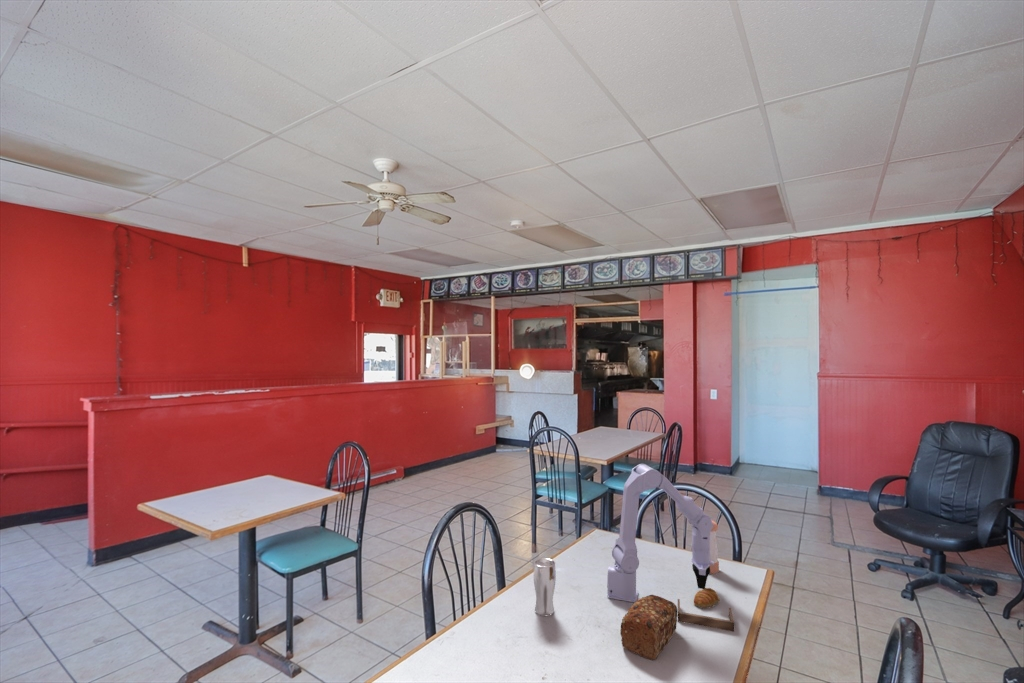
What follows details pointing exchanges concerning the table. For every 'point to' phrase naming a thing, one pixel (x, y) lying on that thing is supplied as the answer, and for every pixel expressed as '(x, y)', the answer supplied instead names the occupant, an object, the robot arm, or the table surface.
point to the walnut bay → (706, 620)
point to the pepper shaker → (714, 549)
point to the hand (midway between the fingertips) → (701, 587)
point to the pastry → (706, 598)
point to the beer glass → (544, 585)
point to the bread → (649, 626)
